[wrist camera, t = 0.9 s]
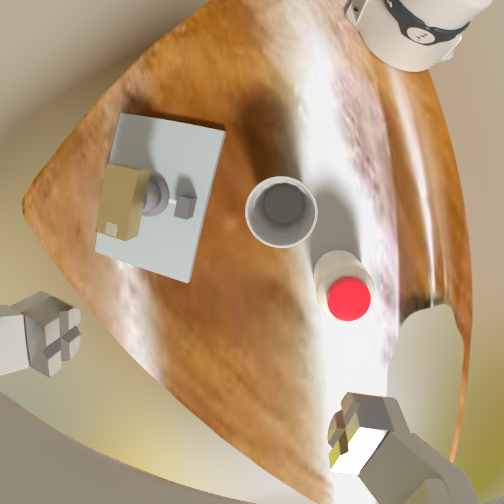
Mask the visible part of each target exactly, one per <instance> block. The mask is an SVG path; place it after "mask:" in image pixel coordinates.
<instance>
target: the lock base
mask: <svg viewBox="0 0 504 504" xmlns="http://www.w3.org/2000/svg"><path fill="white" fill-rule="evenodd" d="M225 135H226V132H225V131H221V130H216V129H212V128H207V127H202V126H197V125H192V124H187V123H181V122H176V121H170V120H164V119H158V118H152V117H146V116H139V115H132V114H125V113H120V117H119V121H118V125H117V129H116V133H115V137H114V141H113V146H112V150H111V155H110V159H109V164H124V165H129V166H133V167H138V168H142V169H147V170H151V172H150V177H149V181H148V186H147V191H146V196H147V203H146V206H145V208H144V210H143V211H142V217H141V222H140V228H139V234H138V236H137V237H134V238H132V239H130V240H128V241H123V240H120V239H117V238H114V237H111V236H107V235H104V234H101V233H98V232H97V239H96V248H95V252H98V253H101V254H103V255H106V256H109V257H112V258H115V259H117V260H120V261H123V262H126V263H129V264H132V265H135V266H137V267H140V268H143V269H146V270H149V271H152V272H155V273H158V274H161V275H164V276H167V277H170V278H173V279H176V280H179V281H182V282H185V283H189V282H190V280H191V275H192V271H193V266H194V261H195V257H196V252H197V248H198V243H199V239H200V235H201V230H202V226H203V222H204V217H205V213H206V209H207V205H208V201H209V197H210V193H211V189H212V185H213V181H214V177H215V173H216V169H217V165H218V161H219V157H220V154H221V150H222V146H223V142H224V139H225ZM103 181H104V179H103ZM102 186H103V184H102ZM101 192H102V190H101Z"/></svg>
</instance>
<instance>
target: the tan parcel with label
mask: <svg viewBox="0 0 504 504" xmlns="http://www.w3.org/2000/svg"><path fill="white" fill-rule="evenodd" d="M150 172H151V170H147V169H142V168H138V167H133V166H129V165H124V164H107V165H106V170H105V175H104V181H103V186H102V192H101V198H100V204H99V211H98V218H97V225H96V232H98V233H101V234H104V235H107V236H111V237H114V238H117V239H120V240H123V241H128V240H130V239H132V238H134V237H137V236H138V234H139V228H140V222H141V217H142V211H143V210H144V208H145V206H146V203H147V196H146V191H147V186H148V181H149V177H150Z"/></svg>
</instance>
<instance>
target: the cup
mask: <svg viewBox="0 0 504 504" xmlns="http://www.w3.org/2000/svg"><path fill="white" fill-rule="evenodd" d="M245 216H246V221H247V224H248V227H249V229H250V230H251V232H252V233H253V235H254V236H255V237H256V238H257V239H258V240H260V241H261V242H263V243H264V244H266V245H269V246H272V247H276V248H288V247H292V246H295V245H297V244H299V243H301V242H303V241H304V240H305V239H306V238H307V237H308V236H309V235H310V234H311V232H312V231H313V229H314V227H315V225H316V222H317V216H318V208H317V203H316V200H315V197H314V195H313V194H312V192H311V191H310V189H309V188H308V187H307V186H306V185H305V184H303V183H302V182H300V181H299V180H297V179H294V178H291V177H287V176H275V177H271V178H268V179H266V180H264V181H262V182H260V183H259V184H258V185H257V186H256V187H255V188H254V189H253V190H252V191H251V193H250V195H249V197H248V199H247V202H246V207H245Z"/></svg>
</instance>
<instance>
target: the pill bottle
mask: <svg viewBox="0 0 504 504" xmlns="http://www.w3.org/2000/svg"><path fill="white" fill-rule="evenodd" d="M313 278H314V284H315V289H316V295H317V300H318V303H319V305H320V307H321V309H322V310H323V311H324V313H326V314H327V315H328V316H330V317H332V318H334V319H337V320H342V321H353V320H356V319H358V318H360V317H362V316H363V315H364V314H365V313H366V312H367V310H368V308H369V306H370V305H371V303H372V301H373V298H374V291H375V288H374V283H373V280H372V278H371V276H370V275H369V273H368V272H367V271H366V269H365V268H364V267H363V265H362V264H361V263H360V261H359V260H358V258H357V257H356V256H355V255H354V254H352V253H350V252H348V251H345V250H333V251H330V252H328V253H326V254H324V255H323V256H322V257H321V258H320V259H319V260H318V261H317V263H316V265H315V268H314V272H313Z"/></svg>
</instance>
